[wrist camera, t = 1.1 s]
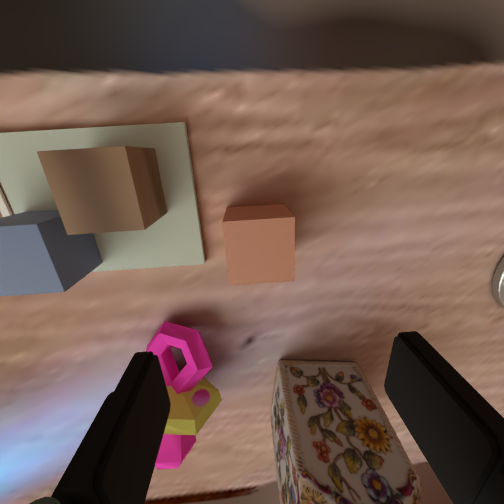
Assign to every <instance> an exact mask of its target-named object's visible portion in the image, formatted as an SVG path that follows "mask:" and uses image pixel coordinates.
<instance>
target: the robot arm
mask: <svg viewBox="0 0 504 504" xmlns="http://www.w3.org/2000/svg"><path fill="white" fill-rule="evenodd" d="M492 292H493V295H494V298H495V300H496V301H497V303H498V304H499V305H500V306H502V307H503V308H504V257H503V259H502V260H501V262H500V263H499V265H498V267H497V269H496V271H495V274H494V277H493V282H492ZM384 387H385V391H386V394H387V395H388V397H389V399H390V400H391V402H392V404H393V405H394V407H395V409H396V410H397V412H398V414H399V415H400V417H401V418H402V420H403V422H404V423H405V425H406V427H407V428H408V430H409V432H410V433H411V435H412V436H413V438H414V440H415V441H416V443H417V445H418V446H419V448H420V450H421V451H422V453H423V455H424V456H425V458H426V459H427V461H428V463H429V464H430V466H431V468H432V469H433V471H434V472H435V474H436V476H437V478H438V479H439V481H440V482H441V484H442V486H443V487H444V489H445V491H446V492H447V494H448V496H449V497H450V499H451V500H452V502H453V503H454V504H504V418H503V417H502V416H501V415H500V414H499V413H498V412H497V411H496V410H495V409H494V408H493V407H492V406H491V405H490V404H489V403H488V402H487V401H486V400H485V399H484V398H483V397H482V396H481V395H480V394H479V393H478V392H477V391H476V390H475V389H474V388H473V387H472V386H471V385H470V384H469V383H468V382H467V381H466V380H465V379H464V378H463V377H462V376H461V375H460V374H459V373H458V372H457V371H456V370H455V369H454V368H453V367H452V366H451V365H450V364H449V363H448V362H447V361H446V360H445V359H444V358H443V357H442V356H441V355H440V354H439V353H438V352H437V351H436V350H435V349H434V348H433V347H432V346H431V345H430V344H429V343H428V342H427V341H426V340H425V339H424V338H423V337H422V336H421V335H420V334H419V333H418V332H415V331H413V332H401V333H399V334H398V336H397V337H395V338H394V342H393V347H392V351H391V356H390V360H389V365H388V370H387V374H386V379H385V383H384ZM170 406H171V403H170V398H169V395H168V391H167V387H166V384H165V380H164V376H163V373H162V369H161V366H160V362H159V358H158V356H157V355H154V354H153V352H152V351H150V352H137V353H135V354H134V356H133V358H132V359H131V361H130V363H129V365H128V367H127V369H126V370H125V372H124V374H123V376H122V378H121V380H120V382H119V383H118V385H117V387H116V389H115V391H114V392H111V393H110V394H109V395H108V396H107V398H106V399H105V401H104V403H103V404H102V406H101V408H100V410H99V412H98V413H97V415H96V417H95V419H94V421H93V422H92V424H91V426H90V428H89V430H88V431H87V433H86V435H85V437H84V439H83V440H82V442H81V444H80V446H79V447H78V449H77V451H76V453H75V455H74V456H73V458H72V460H71V462H70V464H69V465H68V467H67V469H66V471H65V473H64V474H63V476H62V478H61V480H60V482H59V483H58V485H57V487H56V489H55V490H54V492H53V494H52V496H51V497H43V498H40V499H37V500H35V501H33V502H31V503H30V504H144V502H145V499H146V495H147V491H148V488H149V484H150V481H151V477H152V474H153V470H154V466H155V463H156V459H157V456H158V452H159V449H160V445H161V441H162V438H163V434H164V431H165V427H166V424H167V420H168V416H169V413H170Z"/></svg>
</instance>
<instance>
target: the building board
mask: <svg viewBox="0 0 504 504" xmlns="http://www.w3.org/2000/svg"><path fill="white" fill-rule="evenodd" d="M116 146H131V147H143V148H155V152H156V157H157V162H158V167H159V172H160V177H161V182H162V187H163V193H164V198H165V203H166V208H167V213H166V214H165V215H164V216H163V217H161V218H160V219H159V220H157V221H156V222H155V223H153V224H152V225H151V226H149V227H148V228H147V229H145V230H136V231H120V232H105V233H93V234H94V237H95V240H96V243H97V246H98V249H99V252H100V255H101V258H102V261H103V263H102V264H100V265H99V266H98V267H96V268H95V269H94V270H93V271H91V272H95V271H110V270H125V269H140V268H154V267H169V266H184V265H199V264H205V262H206V259H205V252H204V245H203V238H202V231H201V225H200V218H199V211H198V204H197V197H196V190H195V183H194V176H193V169H192V162H191V155H190V148H189V141H188V134H187V127H186V123H185V122H175V123H158V124H141V125H125V126H108V127H91V128H74V129H57V130H40V131H23V132H7V133H0V182H1V184H2V186H3V189H4V191H5V193H6V195H7V198H8V200H9V202H10V204H11V207H12V209H13V211H14V213H15V214H18V213H22V212H31V211H46V210H58V208H57V205H56V203H55V200H54V197H53V194H52V192H51V189H50V186H49V184H48V181H47V178H46V176H45V173H44V170H43V168H42V165H41V162H40V159H39V157H38V154H37V151H50V150H67V149H83V148H100V147H116Z"/></svg>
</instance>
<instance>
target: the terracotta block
mask: <svg viewBox="0 0 504 504" xmlns="http://www.w3.org/2000/svg"><path fill="white" fill-rule="evenodd" d="M223 232H224V241H225V250H226V260H227V269H228V278H229V285H242V284H257V283H271V282H286V281H294V270H295V216H294V215H293V214H292V213H291V212H290V211H289V209H288V208H287V207H286V206H285V205H284V204H271V205H255V206H240V207H227V208H226V212H225V215H224V218H223Z"/></svg>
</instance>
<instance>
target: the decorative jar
mask: <svg viewBox="0 0 504 504" xmlns="http://www.w3.org/2000/svg"><path fill="white" fill-rule="evenodd" d="M271 426H272V436H273V445H274V453H275V461H276V470H277V479H278V488H279V495H280V503H281V504H422V502H421V492H420V487H421V482H420V479H419V476H418V475H417V473H416V472H415V469H414V468H413V466H412V464H411V462H410V460H409V458H408V456H407V454H406V452H405V450H404V448H403V446H402V444H401V442H400V440H399V439H398V437H397V435H396V432H395V431H394V429H393V427H392V426H391V424H390V422H389V419H388V418H387V416H386V414H385V412H384V410H383V408H382V407H381V405H380V403H379V401H378V399H377V397H376V395H375V394H374V392H373V390H372V388H371V387H370V385H369V383H368V381H367V380H366V378H365V376H364V375H363V373H362V371H361V369H360V368H359V366H358V364H357V363H355V362H329V361H298V360H279V362H278V367H277V373H276V379H275V386H274V393H273V401H272V407H271Z"/></svg>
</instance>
